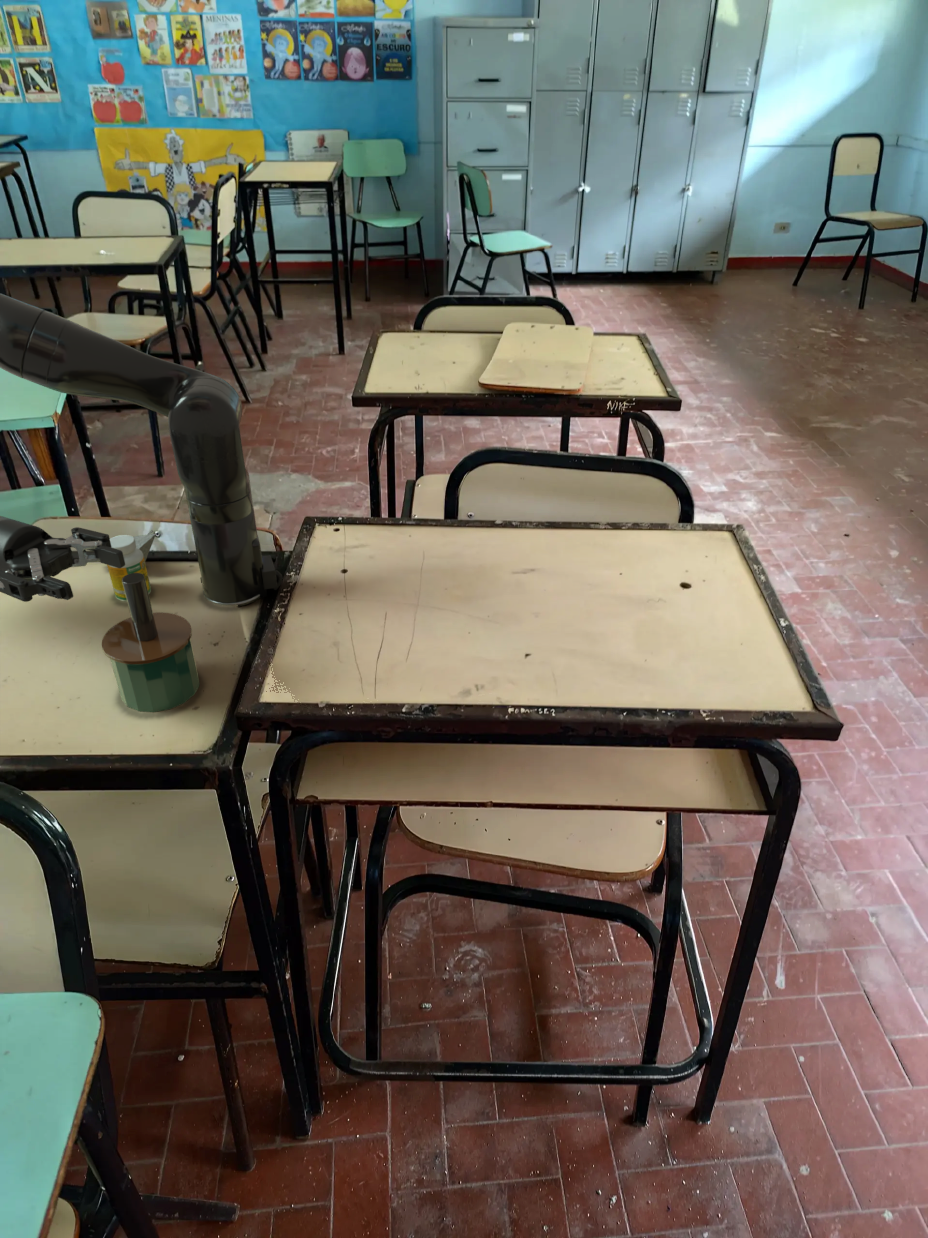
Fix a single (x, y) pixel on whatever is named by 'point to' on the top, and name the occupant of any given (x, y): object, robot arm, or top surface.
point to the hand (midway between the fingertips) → (96, 575)
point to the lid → (144, 629)
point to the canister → (158, 681)
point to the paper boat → (144, 543)
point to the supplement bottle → (127, 564)
